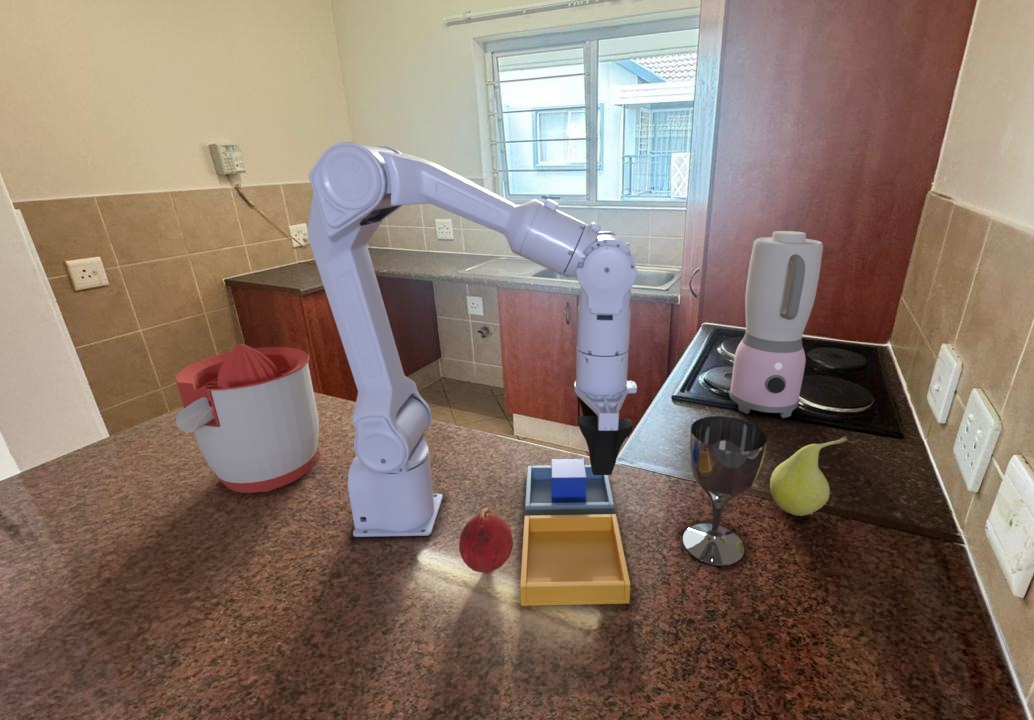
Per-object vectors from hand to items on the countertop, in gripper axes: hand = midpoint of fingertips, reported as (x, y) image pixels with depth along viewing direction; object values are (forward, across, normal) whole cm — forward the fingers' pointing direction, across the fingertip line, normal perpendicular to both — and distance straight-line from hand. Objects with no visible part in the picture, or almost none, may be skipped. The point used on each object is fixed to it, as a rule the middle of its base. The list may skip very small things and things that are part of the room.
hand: (598, 455), depth 60 cm
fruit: (+10, +2, -27) cm, 29 cm away
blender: (+10, +32, -35) cm, 48 cm away
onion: (+10, -7, +13) cm, 18 cm away
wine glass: (+10, -4, -14) cm, 18 cm away
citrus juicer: (+10, +12, +47) cm, 50 cm away
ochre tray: (+10, -7, +3) cm, 13 cm away
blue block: (+10, +5, +3) cm, 11 cm away
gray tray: (+10, +5, +3) cm, 12 cm away
